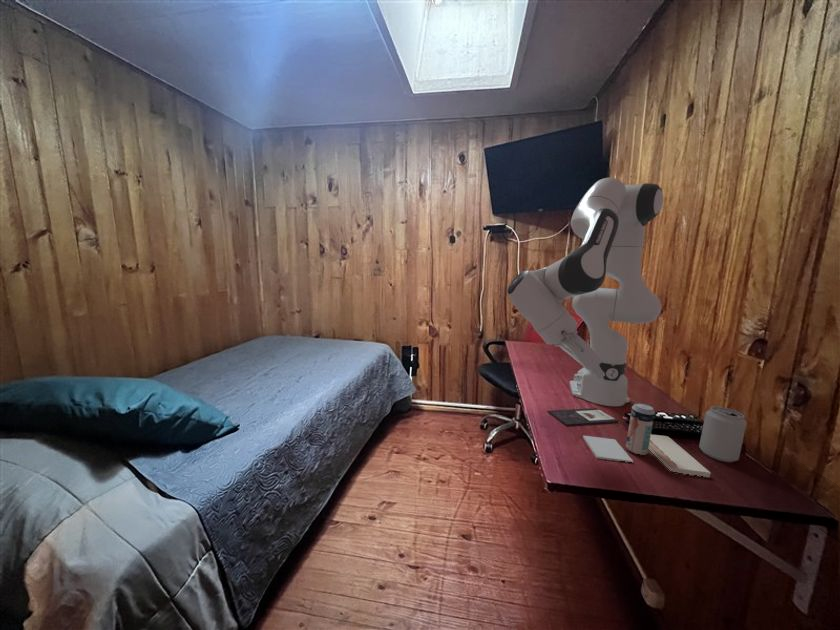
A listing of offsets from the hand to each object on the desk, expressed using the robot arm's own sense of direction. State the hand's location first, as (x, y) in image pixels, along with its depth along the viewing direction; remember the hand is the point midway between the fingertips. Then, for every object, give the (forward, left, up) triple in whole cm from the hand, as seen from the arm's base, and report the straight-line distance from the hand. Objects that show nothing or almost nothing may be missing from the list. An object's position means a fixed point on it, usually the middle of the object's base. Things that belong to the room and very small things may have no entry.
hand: (594, 370), depth 81 cm
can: (-3, +33, -20) cm, 39 cm away
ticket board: (0, +20, -20) cm, 28 cm away
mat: (+1, +5, -20) cm, 21 cm away
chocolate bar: (-17, +5, -21) cm, 27 cm away
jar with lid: (0, +13, -20) cm, 24 cm away
